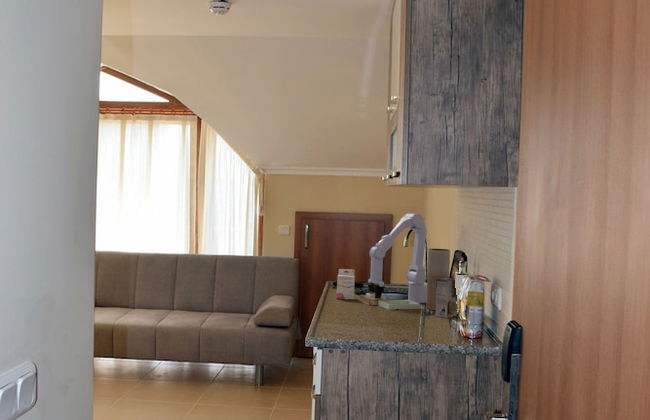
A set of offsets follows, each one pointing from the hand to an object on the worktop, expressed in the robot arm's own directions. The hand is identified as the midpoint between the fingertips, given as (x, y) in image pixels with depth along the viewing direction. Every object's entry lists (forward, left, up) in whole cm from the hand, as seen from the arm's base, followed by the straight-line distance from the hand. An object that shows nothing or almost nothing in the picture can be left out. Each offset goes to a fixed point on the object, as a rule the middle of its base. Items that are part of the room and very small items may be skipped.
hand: (375, 299), depth 305 cm
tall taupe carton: (-22, +21, -2) cm, 30 cm away
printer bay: (+1, 0, -2) cm, 2 cm away
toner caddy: (0, 0, -2) cm, 2 cm away
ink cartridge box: (+10, -15, -2) cm, 18 cm away
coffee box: (-17, +39, -2) cm, 43 cm away
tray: (-6, +14, -2) cm, 15 cm away
